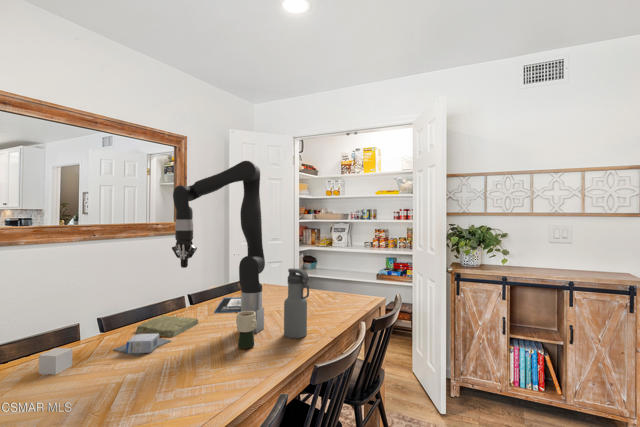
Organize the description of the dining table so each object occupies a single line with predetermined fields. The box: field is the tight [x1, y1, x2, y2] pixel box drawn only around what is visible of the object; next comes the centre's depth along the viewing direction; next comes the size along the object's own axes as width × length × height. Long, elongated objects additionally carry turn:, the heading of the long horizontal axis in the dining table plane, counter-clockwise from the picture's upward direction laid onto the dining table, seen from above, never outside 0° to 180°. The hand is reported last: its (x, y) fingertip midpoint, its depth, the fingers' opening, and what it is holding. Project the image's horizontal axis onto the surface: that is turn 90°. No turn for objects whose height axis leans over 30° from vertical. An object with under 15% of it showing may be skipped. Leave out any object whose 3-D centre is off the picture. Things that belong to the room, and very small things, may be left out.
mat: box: [113, 337, 172, 357], centre depth 127 cm, size 13×15×1 cm
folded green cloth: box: [135, 315, 199, 338], centre depth 147 cm, size 19×20×4 cm
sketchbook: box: [213, 296, 241, 314], centre depth 186 cm, size 22×30×2 cm
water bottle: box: [283, 267, 310, 340], centre depth 140 cm, size 10×10×28 cm
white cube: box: [38, 347, 73, 376], centre depth 107 cm, size 6×6×6 cm
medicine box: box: [126, 333, 160, 354], centre depth 123 cm, size 8×4×9 cm
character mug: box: [235, 311, 257, 349], centre depth 126 cm, size 11×7×13 cm, turn 56°
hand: (184, 267), depth 149 cm, fingers closed
